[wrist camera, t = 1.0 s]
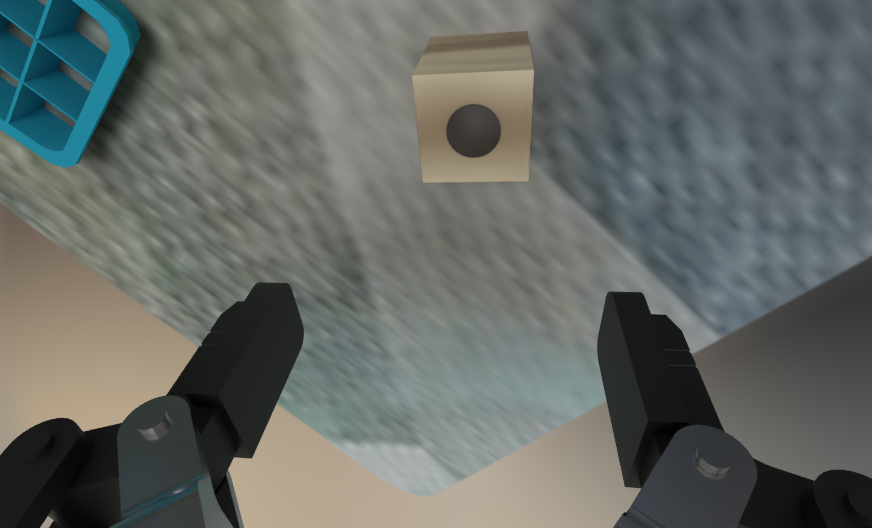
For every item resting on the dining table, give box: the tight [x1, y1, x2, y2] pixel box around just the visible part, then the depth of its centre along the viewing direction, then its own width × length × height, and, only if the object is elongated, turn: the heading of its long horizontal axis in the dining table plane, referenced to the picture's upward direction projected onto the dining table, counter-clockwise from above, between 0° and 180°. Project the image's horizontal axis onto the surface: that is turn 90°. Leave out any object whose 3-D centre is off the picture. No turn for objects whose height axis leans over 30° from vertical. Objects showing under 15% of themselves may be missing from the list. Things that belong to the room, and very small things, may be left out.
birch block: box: [412, 31, 534, 183], centre depth 24 cm, size 5×5×7 cm
